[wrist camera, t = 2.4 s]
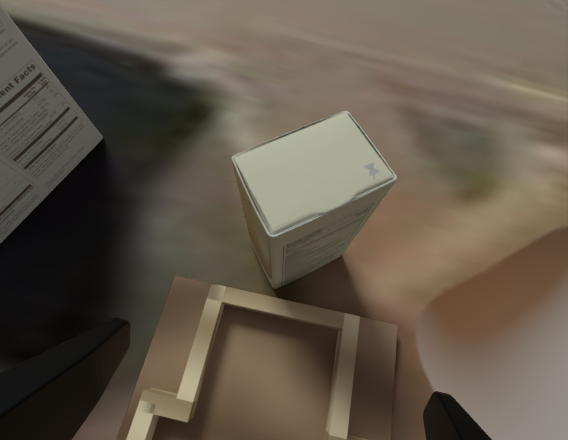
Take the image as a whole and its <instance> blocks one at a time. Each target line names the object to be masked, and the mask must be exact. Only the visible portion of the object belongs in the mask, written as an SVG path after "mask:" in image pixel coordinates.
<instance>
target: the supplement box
mask: <svg viewBox="0 0 568 440" xmlns="http://www.w3.org/2000/svg"><path fill="white" fill-rule="evenodd" d="M102 138H103V136H102V135H101V134H100V133H99V131H98V130H97V129H96V128H95V126H94V125H93V124H92V123H91V121H90V120H89V119H88V117H87V116H86V115H85V114H84V112H83V111H82V110H81V109H80V107H79V106H78V105H77V103H76V102H75V101H74V100H73V98H72V97H71V96H70V94H69V93H68V92H67V91H66V89H65V88H64V87H63V85H62V84H61V83H60V82H59V80H58V79H57V78H56V76H55V75H54V74H53V72H52V71H51V70H50V69H49V67H48V66H47V65H46V63H45V62H44V61H43V59H42V58H41V57H40V56H39V54H38V53H37V52H36V50H35V49H34V48H33V47H32V45H31V44H30V43H29V41H28V40H27V39H26V38H25V36H24V35H23V34H22V32H21V31H20V30H19V29H18V27H17V26H16V25H15V23H14V22H13V21H12V19H11V18H10V17H9V16H8V14H7V13H6V12H5V10H4V9H3V8H2V6H1V5H0V244H1V243H2V242H3V241H4V240H5V239H6V237H7V236H8V235H9V234H10V233H11V232H12V231H13V230H14V229H15V228H16V227H17V226H18V225H19V224H20V223H21V222H22V221H23V220H24V219H25V218H26V217H27V216H28V215H29V214H30V213H31V212H32V211H33V210H34V209H35V208H36V207H37V206H38V205H39V204H40V203H41V202H42V201H43V200H44V199H45V198H46V197H47V196H48V195H49V194H50V193H51V191H52V190H53V189H54V188H55V187H56V186H57V185H58V184H59V183H60V182H61V181H62V180H63V179H64V178H65V177H66V176H67V175H68V174H69V173H70V172H71V171H72V170H73V169H74V168H75V167H76V166H77V165H78V164H79V163H80V162H81V161H82V160H83V159H84V158H85V157H86V156H87V155H88V154H89V152H90V151H91V150H92V149H93V148H94V147H95V146H96V145H97V144H98V143H99V142H100V141H101V140H102Z"/></svg>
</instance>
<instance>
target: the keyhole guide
mask: <svg viewBox="0 0 568 440" xmlns="http://www.w3.org/2000/svg"><path fill="white" fill-rule="evenodd" d="M397 327H398V325H395V324H391V323H386V322H382V321H377V320H373V319H368V318H364V317H360V316H356V315H352V314H347V313H343V312H338V311H334V310H329V309H324V308H320V307H315V306H311V305H306V304H302V303H297V302H293V301H288V300H284V299H279V298H275V297H270V296H266V295H261V294H257V293H252V292H248V291H243V290H239V289H234V288H230V287H225V286H221V285H216V284H212V283H206V282H202V281H197V280H193V279H188V278H184V277H179V276H175V277H174V280H173V283H172V286H171V288H170V291H169V294H168V297H167V300H166V302H165V305H164V308H163V311H162V314H161V316H160V319H159V322H158V325H157V328H156V330H155V333H154V336H153V339H152V342H151V344H150V347H149V350H148V353H147V356H146V358H145V361H144V364H143V367H142V370H141V372H140V375H139V378H138V381H137V384H136V387H135V389H134V392H133V395H132V398H131V401H130V403H129V406H128V409H127V412H126V415H125V417H124V420H123V423H122V426H121V429H120V431H119V434H118V437H117V440H391V429H392V412H393V395H394V378H395V361H396V344H397Z"/></svg>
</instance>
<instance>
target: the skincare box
mask: <svg viewBox="0 0 568 440" xmlns="http://www.w3.org/2000/svg"><path fill="white" fill-rule="evenodd" d="M232 164H233V168H234V172H235V176H236V180H237V184H238V188H239V192H240V197H241V201H242V206H243V210H244V214H245V218H246V222H247V227H248V231H249V235H250V239H251V243H252V246H253V248H254V250H255V253H256V255H257V257H258V259H259V261H260V264H261V266H262V268H263V270H264V272H265V274H266V276H267V278H268V280H269V282H270V284H271V286H272V288H273V289H277V288H279V287H282V286H284V285H286V284H288V283H290V282H292V281H294V280H296V279H299V278H301V277H303V276H305V275H306V274H308V273H310V272H312V271H314V270H316V269H318V268H320V267H322V266H324V265H326V264H327V263H329V262H331V261H333V260H335V259H336V258H338V257H340V256H341V255H342V254H343V253H344V252H345V250H346V249H347V247H348V246H349V245H350V243H351V242H352V240H353V239H354V238H355V236H356V235H357V234H358V232H359V231H360V229H361V228H362V227H363V225H364V224H365V223H366V221H367V220H368V219H369V217H370V216H371V214H372V213H373V212H374V210H375V209H376V208H377V206H378V205H379V203H380V202H381V201H382V199H383V198H384V197H385V195H386V194H387V192H388V191H389V190H390V188H391V187H392V185H393V184H394V183H395V182H396V180H397V177H396V175H395V174H394V172H393V171H392V169H391V168H390V167H389V166H388V164H387V162H386V161H385V160H384V158H383V157H382V155H381V154H380V152H379V151H378V150H377V148H376V147H375V146H374V144H373V143H372V142H371V140H370V139H369V137H368V136H367V135H366V133H365V132H364V131H363V129H362V128H361V127H360V125H359V124H358V123H357V122H356V121H355V120H354V118H353V117H352V116H351V114H350V113H349V112H348V111H343V112H340V113H337V114H334V115H331V116H329V117H326V118H323V119H320V120H317V121H315V122H312V123H310V124H307V125H305V126H302V127H300V128H297V129H295V130H292V131H290V132H287V133H285V134H283V135H280V136H278V137H275V138H273V139H271V140H268V141H266V142H263V143H261V144H259V145H257V146H254V147H252V148H250V149H247V150H245V151H243V152H241V153H238V154H236V155H233V156H232Z"/></svg>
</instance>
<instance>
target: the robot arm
mask: <svg viewBox="0 0 568 440" xmlns="http://www.w3.org/2000/svg"><path fill="white" fill-rule="evenodd" d="M129 345H130V323H129V321H127V320H124V319H119V318H114V319H111V320H109V321H107V322H105V323H103V324H101V325H99V326H97V327H95V328H93V329H91V330H88V331H86V332H84V333H82V334H80V335H78V336H76V337H74V338H72V339H70V340H68V341H66V342H64V343H62V344H60V345H58V346H55V347H53V348H51V349H49V350H47V351H45V352H43V353H41V354H39V355H37V356H35V357H33V358H31V359H29V360H27V361H24V362H22V363H20V364H18V365H16V366H14V367H12V368H10V369H8V370H6V371H4V372H2V373H0V440H72V438H73V437H74V435H75V434H76V433H77V431H78V430H79V428H80V427H81V425H82V424H83V423H84V421H85V420H86V418H87V417H88V415H89V414H90V413H91V411H92V410H93V408H94V407H95V405H96V404H97V402H98V401H99V399H100V397H101V396H102V394H103V392H104V391H105V389H106V387H107V385H108V384H109V382H110V380H111V378H112V377H113V375H114V373H115V371H116V370H117V368H118V366H119V364H120V363H121V361H122V359H123V357H124V355H125V354H126V352H127V350H128V348H129ZM423 420H424V427H425V434H426V440H492V439H491V438H490V437H489V436H488V435H487V434H486V433H485V432H484V431H483V430H482V429H481V427H480V426H479V425H478V424H477V423H476V422H475V421H474V420H473V419H472V418H471V416H470V415H469V414H468V413H467V412H466V411H465V410H464V409H463V408H462V407H461V406H460V404H459V403H458V402H457V401H456V400H455V399H454V398H453V397H452V396H451V395H449V394H446V393H442V392H438V391H435V392H434V393H433V394H432V396H431V398H430V399H429V401H428V403H427V405H426V407H425V409H424V413H423Z"/></svg>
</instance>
